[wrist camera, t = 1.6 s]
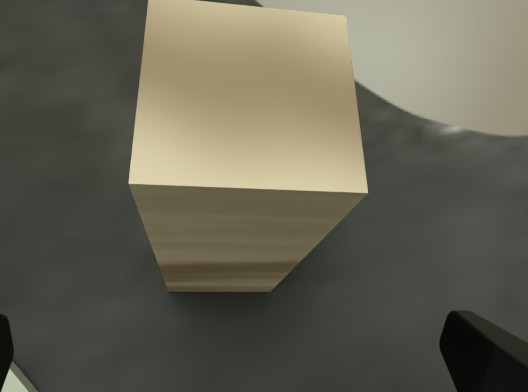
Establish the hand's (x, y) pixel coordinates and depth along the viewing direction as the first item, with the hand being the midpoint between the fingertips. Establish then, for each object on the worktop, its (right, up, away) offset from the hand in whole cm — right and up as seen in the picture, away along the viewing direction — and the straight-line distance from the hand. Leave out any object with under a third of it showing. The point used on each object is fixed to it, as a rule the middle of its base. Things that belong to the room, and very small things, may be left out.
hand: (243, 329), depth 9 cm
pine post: (-2, 0, +13) cm, 13 cm away
